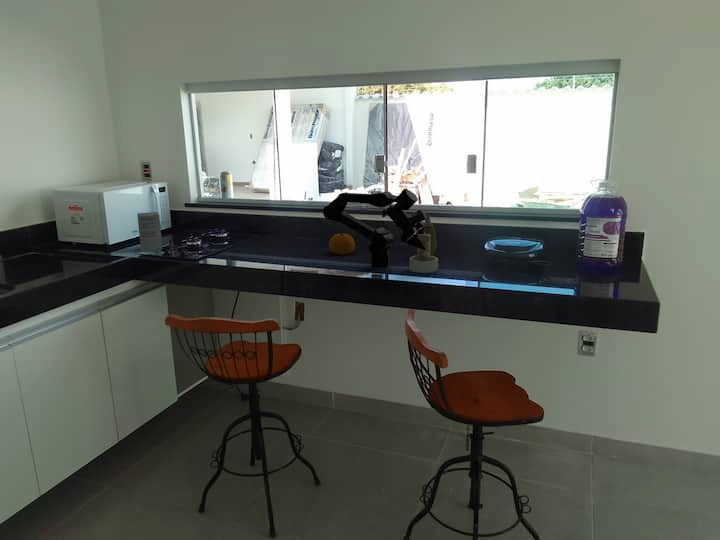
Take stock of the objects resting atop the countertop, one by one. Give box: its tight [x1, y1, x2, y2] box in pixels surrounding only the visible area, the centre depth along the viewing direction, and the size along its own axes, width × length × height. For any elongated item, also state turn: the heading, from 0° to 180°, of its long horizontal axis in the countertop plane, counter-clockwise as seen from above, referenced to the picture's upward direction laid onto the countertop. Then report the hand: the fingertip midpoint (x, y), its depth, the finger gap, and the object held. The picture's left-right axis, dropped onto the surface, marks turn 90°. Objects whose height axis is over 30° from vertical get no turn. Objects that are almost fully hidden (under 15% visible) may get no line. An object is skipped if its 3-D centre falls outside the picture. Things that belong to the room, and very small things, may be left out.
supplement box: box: [136, 211, 164, 252], centre depth 259 cm, size 10×9×17 cm
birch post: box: [416, 234, 431, 261], centre depth 217 cm, size 5×5×13 cm
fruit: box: [328, 231, 356, 256], centre depth 248 cm, size 12×12×10 cm
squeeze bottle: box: [421, 213, 437, 256], centre depth 242 cm, size 8×8×18 cm
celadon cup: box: [408, 255, 439, 274], centre depth 219 cm, size 11×11×4 cm
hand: (427, 247), depth 216 cm, fingers open, 9 cm apart
